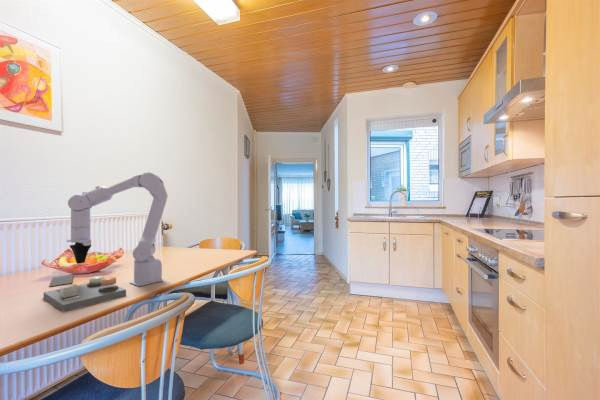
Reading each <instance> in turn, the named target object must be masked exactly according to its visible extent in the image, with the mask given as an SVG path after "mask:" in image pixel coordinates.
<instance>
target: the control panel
mask: <svg viewBox="0 0 600 400" xmlns="http://www.w3.org/2000/svg"><path fill="white" fill-rule="evenodd" d="M77 285H78V295H75V296H70V297H66V298H63V297H61V296H60V288H57V289H51V290H49V291H44V292H43V299H44V300H45V301H47V302H48V303H50V304H51V305H52V306H54V307H55V308H57V309H58V310H60V311H61V312H63V313H65V312H68V311H71V310H76V309H78V308H84V307H87V306H90V305H94V304H99V303H102V302H105V301H110V300H114V299H117V298H122V297H124V296H127V289H126V288H123V287H121V286H118V285H116V284H113V285H108V286H101V283H100V284H89V282H85V283H82V284H77Z"/></svg>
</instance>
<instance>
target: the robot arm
mask: <svg viewBox="0 0 600 400" xmlns="http://www.w3.org/2000/svg"><path fill="white" fill-rule="evenodd" d="M133 188H143V189H146V191H148V193H149V194H150V195H151V196H152V197H153V199H152V203H151V206H150V207H149V208H150V209H149V212H148V216H147V218H146V221H145V225H144V228H143V231H142V235H141V238H140V239H139V241H138V244H137V246H136V247H135V248H134V249H133V251H132V256H133V257H132V258H133V259H134V260H133V280H132V281H129V283H130V284H131V285H134V286H137V287H142V286H145V285H150V284H154V283H157V282H162V281H163V280H164V279H163V278H162V276H163V272H162V271H163V265H162V260H161V259H160V258H156V257H155V256H154V254H155V252H156V246H155V244H156V237H157V235H158V230H159V227H160V224H161V220H162V217H163V214H164V211H165V207H166V204H167V201H168V193H167V190H166V187H165V184H164V181H163V180H162V179H161V178H160V177H159V176H158V175H157V174H154V173H152V172H144V173H142V174H137V175H134V176H132V177H129V178H127V179H125V180H122V181H120V182H118V183H116V184H114V185H111V186H109V187H107V186H104V185H102V186H101V185H98V186H97V185H96V186H95V188H94V189H92V190H89V191H87V192H86V191H82V192H81V194H73V196H71V197H69V198H68V200H67V201H68V202H67V205H68V207H69V209H70V239H66V242H67V243H74V244H70V245H69V247H70V249H71V251H72V253H73V255H74V259H75V263H76V264H77V265H78V264H85V262H86V259H87V256H88V253H89V250H90V248H91V247H92V238H91V209H92V208H93V207H95V206H97V205H100V204H103V203H104V202H108V201H110V200H111V199H112V198H113V196H114V195H116V194H118V193H121V192H124V191H126V190H130V189H133Z"/></svg>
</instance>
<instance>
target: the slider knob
mask: <svg viewBox="0 0 600 400" xmlns="http://www.w3.org/2000/svg"><path fill="white" fill-rule="evenodd" d="M78 285H79V284H76V283H72V284H69V285H62V286H59V287H60V288H59V289H60V296H61V297H63V298H66V297H70V296H75V295H78Z"/></svg>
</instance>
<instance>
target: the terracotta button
mask: <svg viewBox="0 0 600 400" xmlns="http://www.w3.org/2000/svg"><path fill="white" fill-rule="evenodd" d="M116 284H117V277H116V276H109V277H104V278H103V279H101V286H108V285H116Z"/></svg>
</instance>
